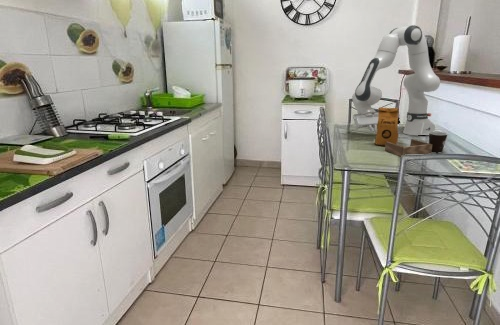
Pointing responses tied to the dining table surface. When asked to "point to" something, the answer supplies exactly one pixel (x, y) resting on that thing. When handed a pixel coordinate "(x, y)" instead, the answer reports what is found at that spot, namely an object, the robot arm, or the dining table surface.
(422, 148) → the frame
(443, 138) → the coffee mug
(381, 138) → the coffee package
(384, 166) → the dining table surface
